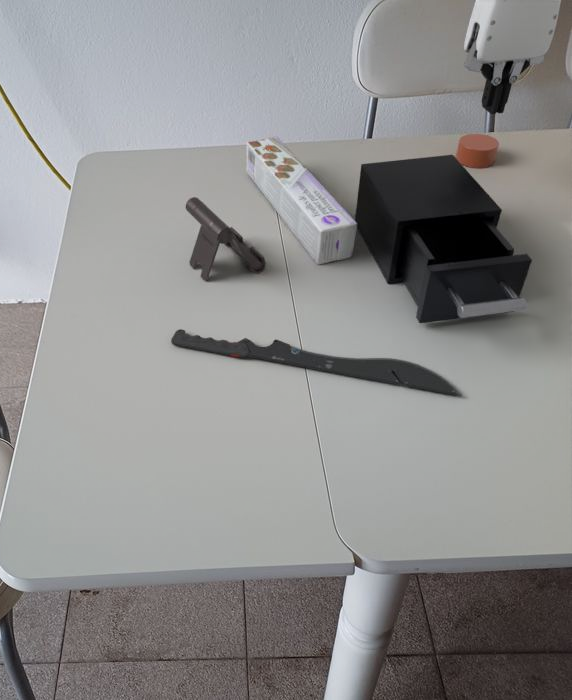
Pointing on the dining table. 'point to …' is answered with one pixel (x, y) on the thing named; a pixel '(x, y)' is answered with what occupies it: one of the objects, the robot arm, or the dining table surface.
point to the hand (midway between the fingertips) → (492, 109)
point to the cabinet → (414, 202)
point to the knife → (324, 362)
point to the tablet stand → (218, 240)
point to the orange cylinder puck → (477, 150)
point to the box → (301, 201)
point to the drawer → (461, 270)
